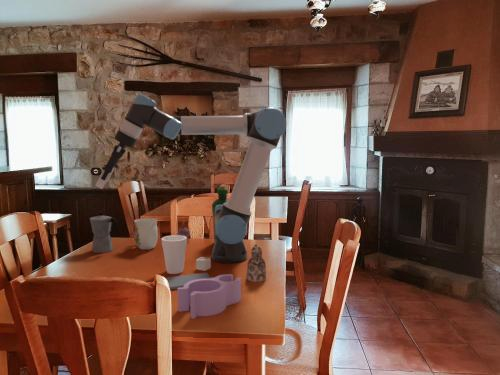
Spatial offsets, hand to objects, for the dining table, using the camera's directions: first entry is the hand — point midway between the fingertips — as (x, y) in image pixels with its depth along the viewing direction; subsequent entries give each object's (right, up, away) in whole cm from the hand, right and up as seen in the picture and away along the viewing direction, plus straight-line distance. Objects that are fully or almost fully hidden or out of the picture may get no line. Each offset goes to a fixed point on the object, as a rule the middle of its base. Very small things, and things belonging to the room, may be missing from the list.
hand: (101, 184), depth 151 cm
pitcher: (+7, -30, +39) cm, 50 cm away
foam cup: (+27, -34, +4) cm, 43 cm away
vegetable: (+23, -28, +51) cm, 62 cm away
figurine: (+58, -35, -4) cm, 67 cm away
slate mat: (+34, -35, -8) cm, 49 cm away
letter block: (+37, -33, +7) cm, 50 cm away
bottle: (+42, -29, +47) cm, 69 cm away
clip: (+44, -38, -27) cm, 64 cm away
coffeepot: (-11, -30, +34) cm, 47 cm away
